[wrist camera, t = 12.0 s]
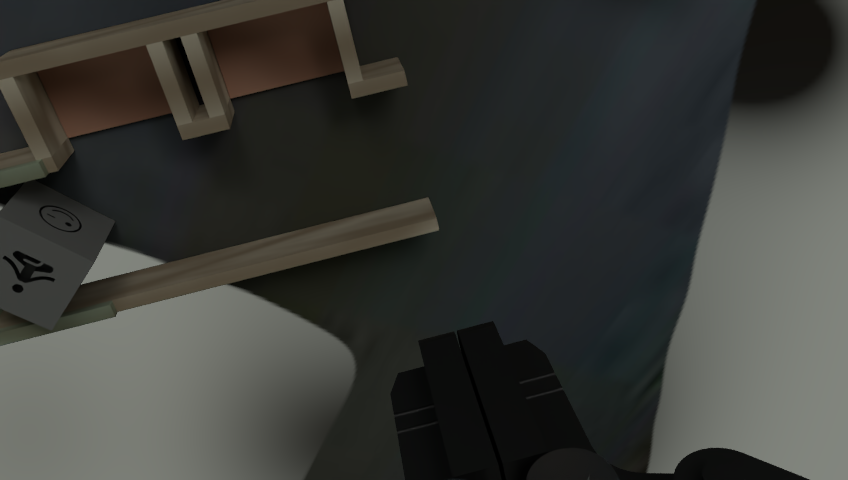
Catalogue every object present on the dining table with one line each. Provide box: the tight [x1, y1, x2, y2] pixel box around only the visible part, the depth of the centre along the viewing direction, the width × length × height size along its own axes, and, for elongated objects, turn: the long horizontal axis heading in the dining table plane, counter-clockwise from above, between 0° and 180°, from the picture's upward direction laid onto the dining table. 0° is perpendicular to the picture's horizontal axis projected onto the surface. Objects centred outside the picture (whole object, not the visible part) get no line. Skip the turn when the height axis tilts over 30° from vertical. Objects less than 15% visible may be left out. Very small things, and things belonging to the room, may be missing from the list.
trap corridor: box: [0, 0, 439, 346], centre depth 39 cm, size 15×27×4 cm, turn 102°
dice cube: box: [0, 180, 115, 331], centre depth 40 cm, size 5×5×5 cm
